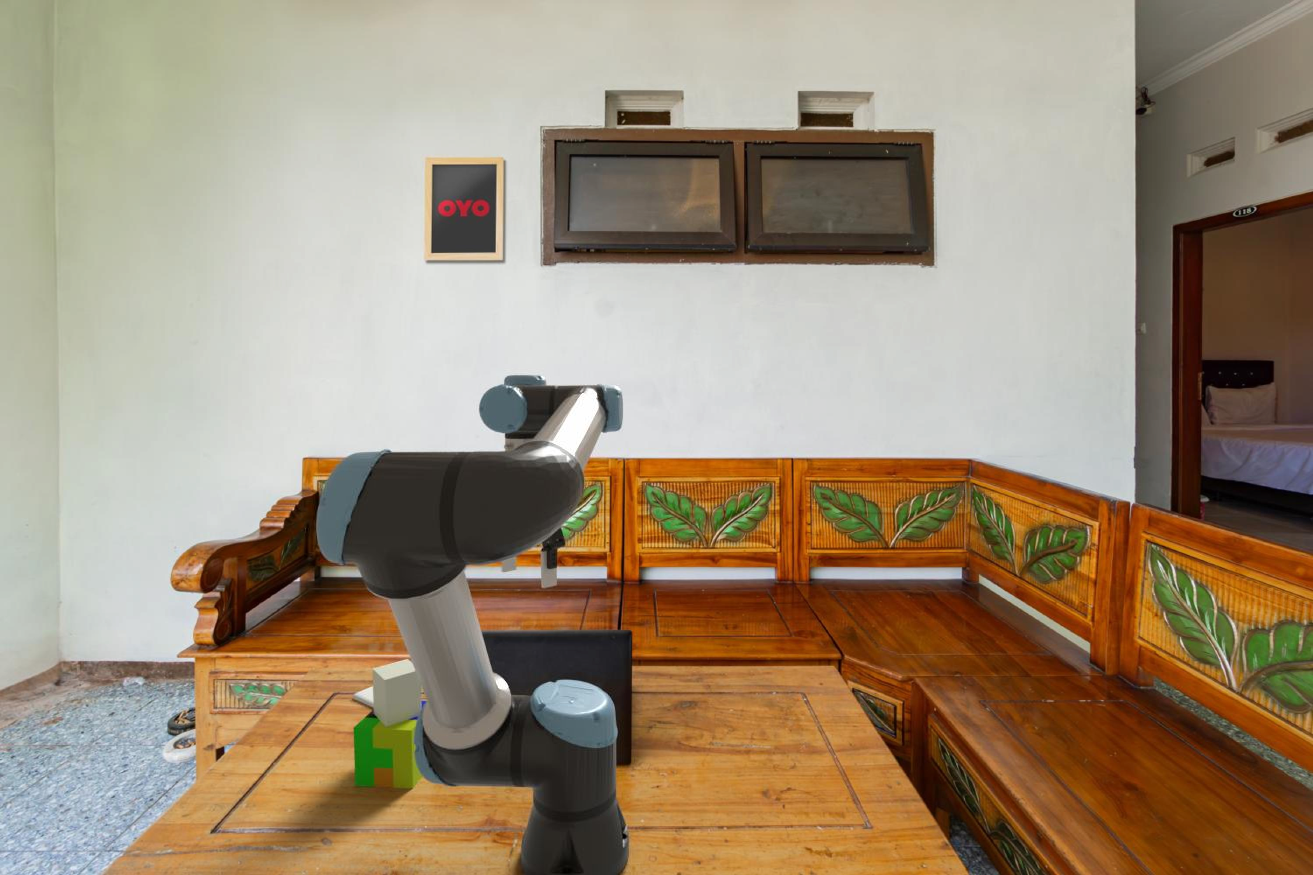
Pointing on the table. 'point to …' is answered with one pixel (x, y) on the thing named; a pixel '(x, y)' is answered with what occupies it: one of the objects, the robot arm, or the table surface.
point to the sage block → (396, 692)
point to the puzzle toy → (385, 753)
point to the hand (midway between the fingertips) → (528, 578)
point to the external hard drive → (366, 696)
